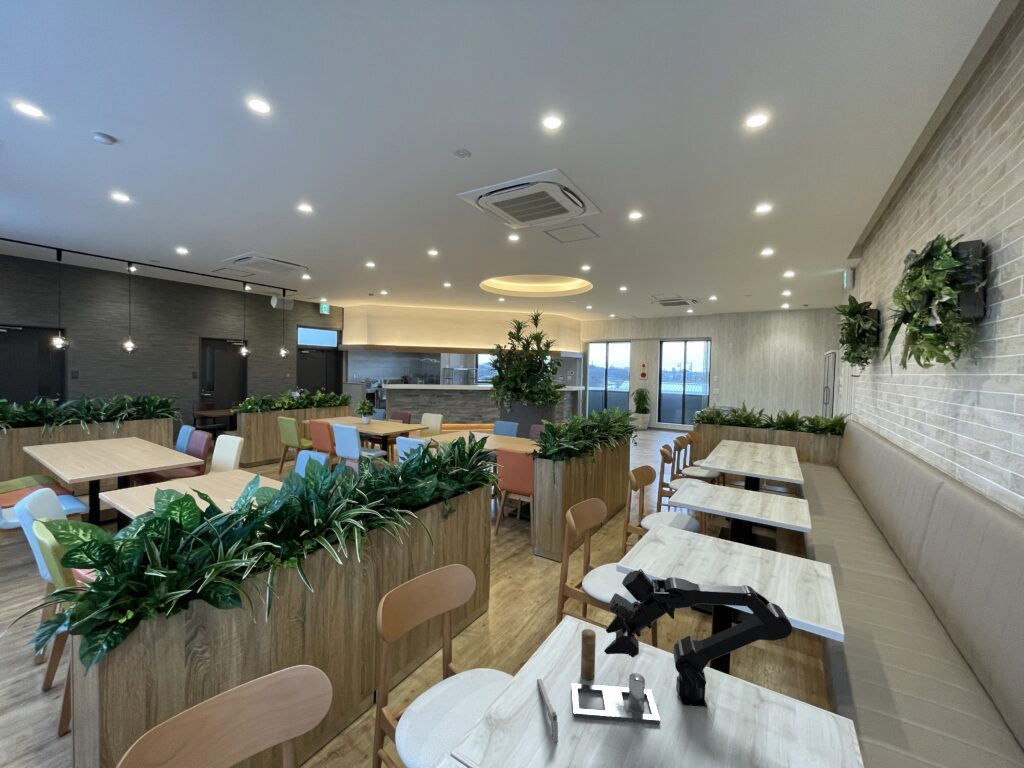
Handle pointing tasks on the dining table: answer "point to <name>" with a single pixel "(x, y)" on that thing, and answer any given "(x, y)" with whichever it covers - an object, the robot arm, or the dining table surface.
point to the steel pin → (636, 692)
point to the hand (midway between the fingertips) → (606, 641)
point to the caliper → (549, 711)
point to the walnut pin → (588, 654)
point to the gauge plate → (613, 705)
